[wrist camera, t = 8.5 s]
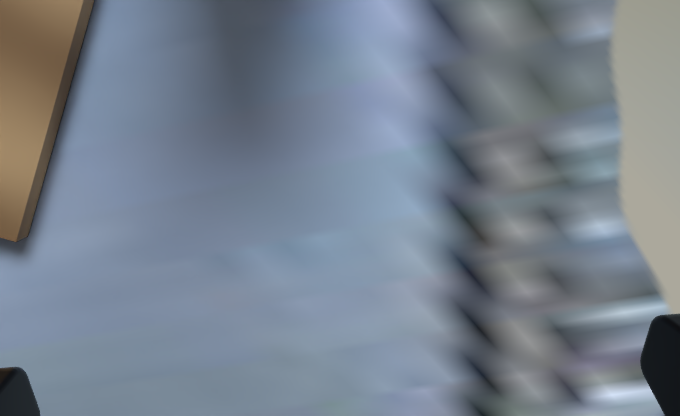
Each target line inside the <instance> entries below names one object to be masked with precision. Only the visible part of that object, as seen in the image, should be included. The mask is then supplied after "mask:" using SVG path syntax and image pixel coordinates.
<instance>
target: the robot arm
mask: <svg viewBox="0 0 680 416" xmlns="http://www.w3.org/2000/svg"><path fill="white" fill-rule="evenodd" d="M640 363H641V369H642V372H643V375H644V377H645V379H646V381H647V383H648V384H649V386H650V388H651V390H652V392H653V394H654V396H655V398H656V399H657V401H658V403H659V405H660V407H661V409H662V411H663V413H664V414H665V416H680V314H669V315H660V316H657V317H655V318H654V320H653V321H652V322H651V325H650V328H649V331H648V334H647V338H646V341H645V344H644V348H643V351H642V354H641V360H640ZM0 416H40V410H39V407H38V404H37V401H36V399H35V396H34V393H33V390H32V387H31V385H30V382H29V379H28V376H27V374H26V372H25V371H24V370H23V369H22V368H19V367H8V368H0Z"/></svg>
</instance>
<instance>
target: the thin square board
mask: <svg viewBox="0 0 680 416" xmlns="http://www.w3.org/2000/svg"><path fill="white" fill-rule="evenodd" d="M93 3H94V0H0V238H4V239H7V240H11V241H14V242H17V241H19V240H21V239H23V238H25V237H28V234H29V230H30V227H31V223H32V220H33V216H34V213H35V209H36V205H37V202H38V198H39V195H40V191H41V188H42V184H43V181H44V177H45V173H46V170H47V166H48V163H49V159H50V156H51V152H52V149H53V145H54V142H55V138H56V134H57V131H58V127H59V124H60V120H61V117H62V113H63V110H64V106H65V103H66V99H67V95H68V92H69V88H70V85H71V81H72V78H73V74H74V71H75V67H76V64H77V60H78V56H79V53H80V49H81V46H82V42H83V39H84V35H85V32H86V28H87V25H88V21H89V17H90V14H91V10H92V7H93Z"/></svg>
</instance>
